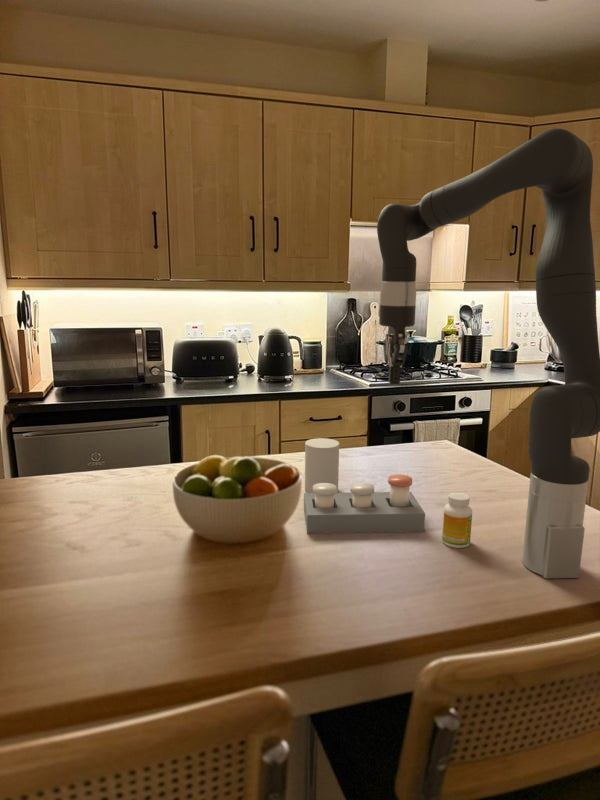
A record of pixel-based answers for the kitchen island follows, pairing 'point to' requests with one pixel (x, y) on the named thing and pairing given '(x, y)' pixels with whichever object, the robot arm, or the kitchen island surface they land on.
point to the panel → (363, 515)
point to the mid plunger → (362, 494)
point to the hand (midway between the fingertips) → (394, 383)
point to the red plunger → (399, 490)
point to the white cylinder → (321, 462)
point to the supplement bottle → (457, 521)
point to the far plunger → (324, 495)
